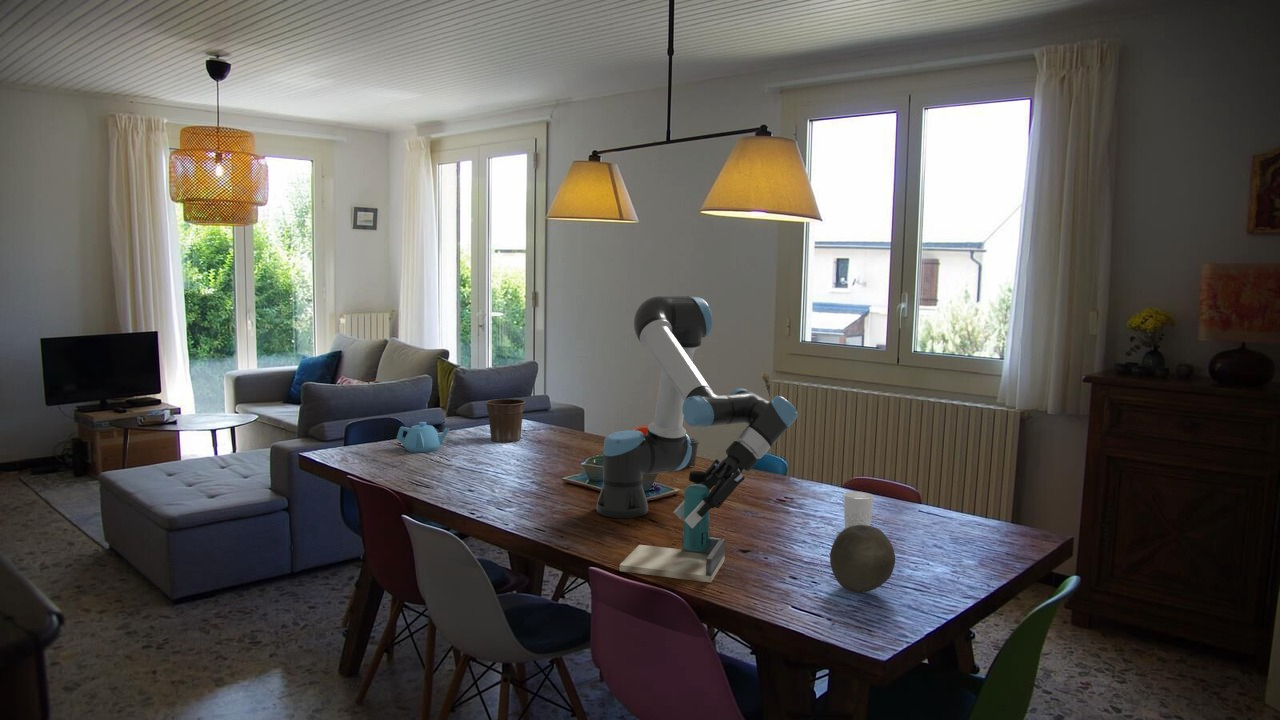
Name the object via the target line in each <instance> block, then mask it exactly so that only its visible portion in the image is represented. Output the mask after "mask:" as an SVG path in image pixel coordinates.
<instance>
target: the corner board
mask: <svg viewBox="0 0 1280 720" xmlns="http://www.w3.org/2000/svg"><path fill="white" fill-rule="evenodd" d="M683 535H684V533H683V534H682V535H681V548H672V547H664V546H655V545H646V544H645V545H644V544H638V545H637V546H636V548H634V549H633V551H631V552H630V553H629V554H628V556H627V557H626V558H625V559H624V560H623V561H622V562H621V563H620V564H619V572H624V573H633V574H639V575H648V576H649V575H650V576H656V577H664V578H670V579H671V578H673V579H679V580H688V581H695V582H703V583H710V584H711V583H712V581H713V580H714V578H715V576H716V575H717V573H718V572H719V570H720V569H721V567H722V565H723V564H724V562H725V555H726V553H725V552H726V538H723V537H722V538H721V537H714V536H713V537H711V536H710V539H709V543H710V544H709V547H708V549H707V550H705V551H690V550H687V549H685V548H684V545H683Z"/></svg>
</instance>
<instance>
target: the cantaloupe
mask: <svg viewBox="0 0 1280 720" xmlns="http://www.w3.org/2000/svg"><path fill="white" fill-rule="evenodd" d="M829 561H830V563H829V564H830V569H831V571H832V574H833V576H834V578H835V580H836V581H837V583H838V584H839V585H840V586H841V587H842V588H843V589H845V590H847V591H849V592H852V593H856V594H857V593H858V594H859V593H860V594H862V593H869V592H871V591H873V590H876V589H878V588H879V587H881V586H882V585H884V584H885V583H886V582H887V581H888V580H889V579H890V578H891V576H892V574H893V572H894V569H895V564H896V553H895V549H894V547H893V544H892V542H891V541H890V539H889V538H888V537H887V535H886V534H885V533H884V532H883V531H882V530H881V529H880V528H877V527H875V526H873V525H870V526H868V525H855V526H851V527H848V528H847V529H845V528H844V529H843V530H842V531H840V533H839V534H838V535H837V536H836V538H835V539H834V541H833V543H832V545H831V548H830V553H829Z"/></svg>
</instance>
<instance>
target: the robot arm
mask: <svg viewBox="0 0 1280 720" xmlns="http://www.w3.org/2000/svg"><path fill="white" fill-rule="evenodd" d="M713 321H714V320H713V314H712V310H711V309H710V305H709V304H708V303H707V301H706V300H705V299H703V298H701V297H698V296H689V295H684V296H659V295H658V296H652V297H650V298H648V299H646V300H644V301H643V302H642V303H641V304H640V305H639V306H638V307H637V309H636V312H635V315H634V318H633V329H634V333H635V335H636V337H637V339H638V341H639V342H640V343H641V346H643V347H644V348H647V349H649V351H650V352H651V354H652V356H653V357H654V358H655V360H656V361H657V363H658V364H659V366H660V367H661V371H660V377H659V385H658V391H657V397H656V406H655V412H654V418H653V421H652V422H651V423H649V424H648V426H647V430H646V434H644V433H643V431H640V430H638V429H636V430H635V429H631V430H630V429H629V430H621V431H620V430H619V431H615V432H612V433H610V434H607V436H606V437H605V438H604V441H603V448H602V454H603V456H602V459H603V460H602V462H603V463H602V466H603V467H602V486H601V490H600V493H599V496H598V499H597V502H596V512H597V514H599V515H601V516H604V517H608V518H615V519H633V518H638V517H641V516H642V517H643V516H644V515H646V514H648V513H649V503H648V501H647V497H646V494H645V490H644V487H643V478H644V477H643V476H644V475H652V474H653V475H654V474H660V473H672V472H675V471H676V472H677V471H680V470H682V469H684V468H685V466H686V465H687V464H688V462H689V460H690V457H691V452H692V446H690V444H691V441H690V439H691V438H690V436H689V435H688V434H687V430H686V429H685V427H684V426H683V423H684V422H685V423H686V424H687V425H688V426H690V427H699V428H700V427H701V428H706V427H713V426H721V425H722V426H723V425H737V424H747V425H748V426H746V428H745V429H744V430H743V431H741V433H740V434H739V435H738V436H737V437H736V440H735V441H734V440H733V441H732V443H731V444H730V445H729V446H728V447H727V448H726V449H725V454H726V455H727V457H725V458H724V459H723V460H722V461H719V459H717V458H716V459H714V461H713V462H712V464H711V465H710V466H709V467H708V468H707V469H706V470H705V471H704V472H705V473H706V482H702V483H695V482H692V484H702V485H705V486H707V487H708V488H709V490H710V494H709V495H708V497H707V498H703V500H704V501H705V502H706V503H705V502H704V501H703V500H702V501H701V502H700V503H699V505H698V506H697V507H696V508H695V509H694V510H693V511H692V512H691V513H690V514H689V516H688V517H687V518H686V519H685V520H684V500H683V501H682V502H681V503H680V504H679V505H678V507H676V508H675V510H674V511H673V513H674V514H675V515H676V516H677V517H678V518H679V520H681V521H682V520H683V521H685V522H686V523H687V524H688V525H689V526H690V527H691V528H692V529H693V528H694V526H695V525H696V524H697V523H698V522H699V521H700V520H701V519H702V518H703V517H704V516H705V514H706V513H707V512H708V511H709V510H710V511H711V509H714V508H716V509H719V508H720V507H721V506H722V505H723V504H724V502H725V501H726V500H727V499H728V497H730V495H731V494H732V493H733V492H734V490H736V488H737V487H738V486H739V485H740V484H741V483H742V482H743V481H744V480H745V479H746V478H745V476H744V475H743V474H742V472H743V471H745V472H750V471H751V470H752V468H754V466H755V465H756V464H758V460H759V459H762V457H764V456H765V455H767V453H768V451H769V450H770V448H772V447H773V446H774V445H775V443H776V442H777V441H778V440H779V439H780V438H781V437H782V436H783V435H784V433H786V431H788V429H790V428H791V426H792V425H793V424H794V422H795V421H796V420H797V418H798V415H799V412H798V410H797V409H796V407H795V406H794V405H793V404H792V403H791V402H790V401H789V400H787V399H786V398H785V397H783V396H781V395H776V396H775V397H773V398H772V399H771V400H766V399H765V398H763V397H762V396H760V395H758V394H756V393H755V392H754V391H751V390H749V389H746V388H736V389H734V390H733V391H731V392H730V393H728V394H715V392H714V391H713V389H712V388H711V386H710V385H709V384H708V383H707V381H706V380H705V378H704V377H703V375H702V374H701V372H700V370H699V369H698V367H696V365H695V364H694V363H693V360H694V353H695V351H696V350H698V348H700V347H701V345H702V344H701V343H702V338H705V337H708V336H709V335H710V334H711V332H712V329H713ZM711 489H712V490H711Z"/></svg>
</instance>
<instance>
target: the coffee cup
mask: <svg viewBox="0 0 1280 720" xmlns="http://www.w3.org/2000/svg"><path fill="white" fill-rule="evenodd" d="M690 441H691V444H690V446H692V452H691V457H690V460H689V462H688V464H687V465H686V467H690V466H696V460H697V459H696V458H697V453H698V445H699V444H700V442H699V440H697V439H696V438H690Z"/></svg>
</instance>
